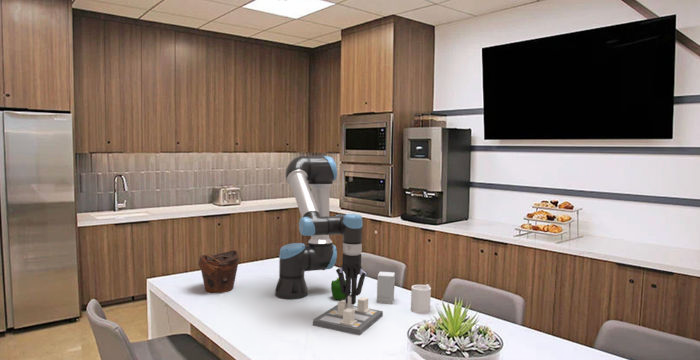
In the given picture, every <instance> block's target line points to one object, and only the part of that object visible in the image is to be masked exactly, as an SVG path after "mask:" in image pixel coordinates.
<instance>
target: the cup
mask: <svg viewBox="0 0 700 360" xmlns="http://www.w3.org/2000/svg"><path fill="white" fill-rule="evenodd" d="M431 290H432V287H431V286H430V284H429V283H427V284H414V285H411V292H410V294H411V295H410V296H411V297H410V311H411V312H413V313H414V314H415V313H416V314H419V315H420V314H422V315H423V314H429V313H430V312H431V294H432V291H431Z"/></svg>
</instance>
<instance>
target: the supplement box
mask: <svg viewBox="0 0 700 360" xmlns="http://www.w3.org/2000/svg"><path fill="white" fill-rule="evenodd" d="M395 278H396V273H395V272H394V271H393V272H391V271H379V272H378V274H377V283H376V304H377V303H378V304H388V305H393V302H394V300H395V285H396V283H395V282H396V281H395Z"/></svg>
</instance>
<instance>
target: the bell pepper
mask: <svg viewBox="0 0 700 360" xmlns="http://www.w3.org/2000/svg"><path fill="white" fill-rule="evenodd" d="M345 284H346V279H345ZM330 286H331V287H330V291H331V294H332V297H333V298H334V299H335V300H337V301H341V300H345V299H346V295H345V294H344V293H342V292H341V287H340V282H339V277H337V278H336V279H335V280H331V284H330Z"/></svg>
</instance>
